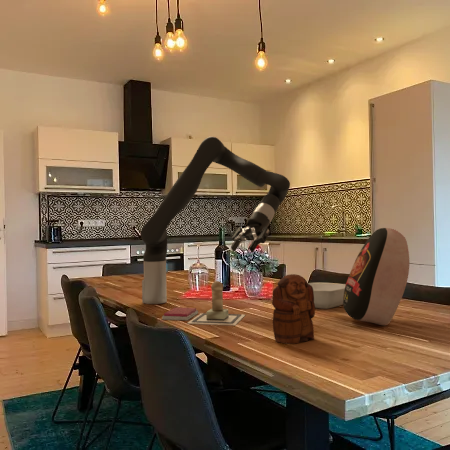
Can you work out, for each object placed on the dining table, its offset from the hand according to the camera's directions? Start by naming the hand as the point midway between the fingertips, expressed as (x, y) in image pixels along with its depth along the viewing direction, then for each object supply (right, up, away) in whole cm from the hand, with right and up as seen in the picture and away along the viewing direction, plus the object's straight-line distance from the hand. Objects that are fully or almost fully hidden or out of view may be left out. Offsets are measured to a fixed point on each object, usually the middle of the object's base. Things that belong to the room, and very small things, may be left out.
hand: (241, 250), depth 165 cm
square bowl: (+31, -22, +14) cm, 41 cm away
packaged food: (+42, -22, -18) cm, 51 cm away
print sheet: (-8, -23, -10) cm, 26 cm away
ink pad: (-21, -23, -4) cm, 32 cm away
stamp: (-8, -23, -10) cm, 26 cm away
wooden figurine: (+13, -23, -39) cm, 47 cm away
